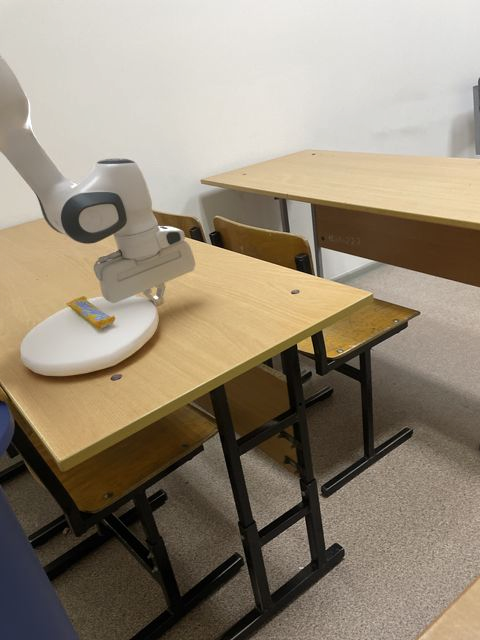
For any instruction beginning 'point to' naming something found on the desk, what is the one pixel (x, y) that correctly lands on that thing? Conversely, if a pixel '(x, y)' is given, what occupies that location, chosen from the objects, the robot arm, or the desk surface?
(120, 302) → the plate
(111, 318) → the candy bar
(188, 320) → the desk surface
